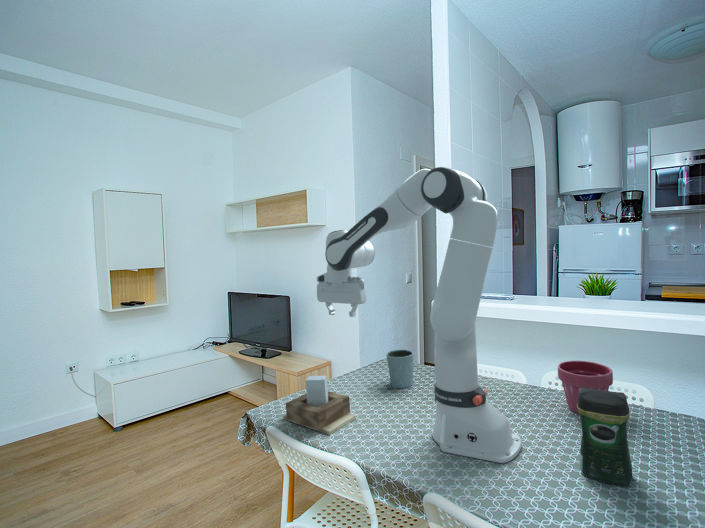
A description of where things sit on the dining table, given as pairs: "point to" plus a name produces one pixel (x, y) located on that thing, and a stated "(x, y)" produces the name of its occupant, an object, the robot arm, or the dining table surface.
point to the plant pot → (583, 379)
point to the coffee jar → (604, 436)
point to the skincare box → (316, 390)
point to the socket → (320, 413)
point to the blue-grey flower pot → (400, 368)
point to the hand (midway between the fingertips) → (342, 315)
